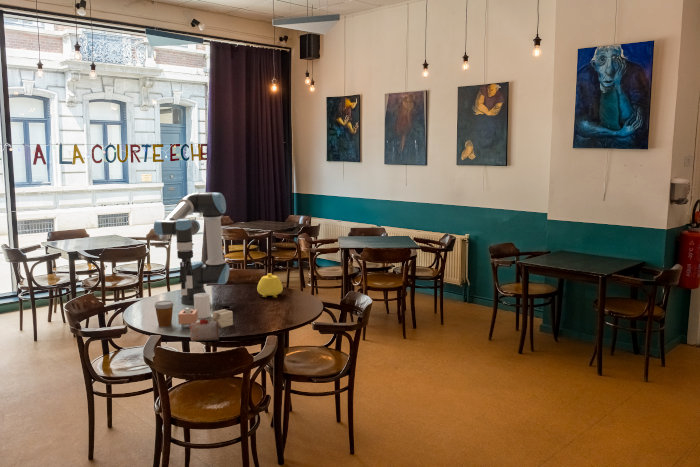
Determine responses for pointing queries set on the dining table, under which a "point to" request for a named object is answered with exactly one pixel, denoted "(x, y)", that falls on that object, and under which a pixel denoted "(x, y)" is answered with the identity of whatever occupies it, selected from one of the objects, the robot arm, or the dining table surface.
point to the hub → (186, 326)
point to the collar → (188, 317)
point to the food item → (204, 330)
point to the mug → (202, 305)
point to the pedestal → (223, 317)
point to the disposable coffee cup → (164, 313)
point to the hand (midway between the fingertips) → (187, 291)
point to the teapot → (269, 285)
